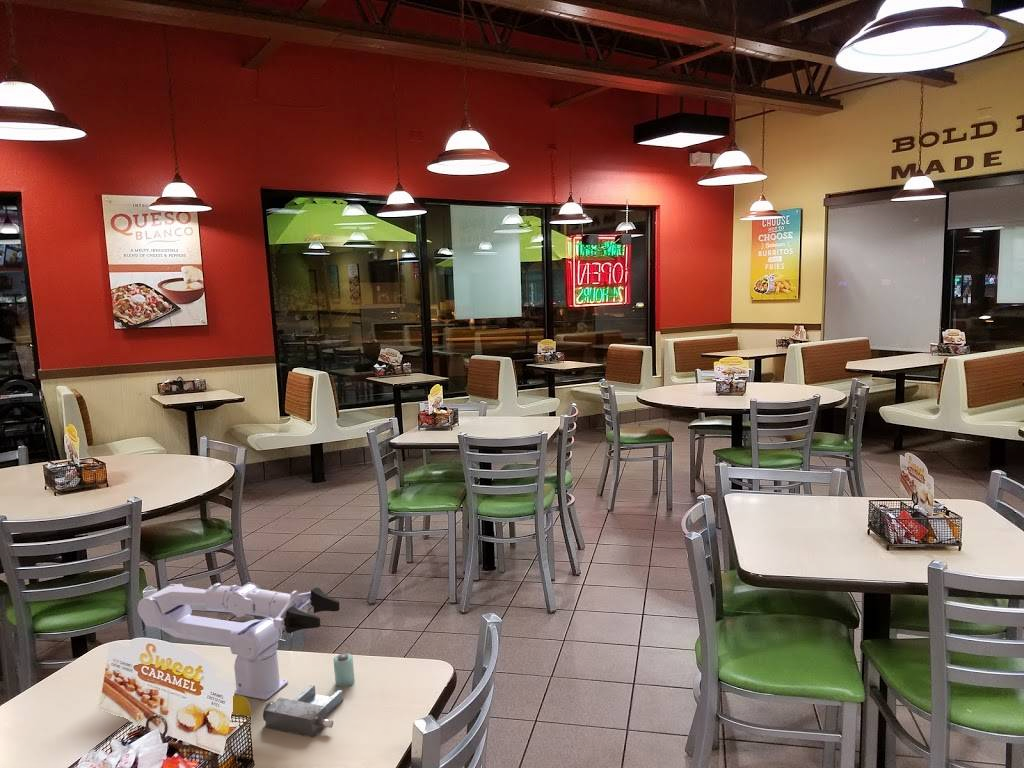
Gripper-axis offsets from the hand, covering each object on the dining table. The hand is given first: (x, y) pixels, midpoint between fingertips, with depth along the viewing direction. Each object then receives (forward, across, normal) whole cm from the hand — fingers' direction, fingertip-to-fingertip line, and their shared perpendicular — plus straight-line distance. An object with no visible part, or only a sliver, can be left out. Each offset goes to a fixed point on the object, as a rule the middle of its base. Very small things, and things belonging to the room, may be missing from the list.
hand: (329, 614), depth 160 cm
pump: (-1, +7, +21) cm, 22 cm away
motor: (-1, -7, +20) cm, 22 cm away
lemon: (-13, -16, +21) cm, 29 cm away
